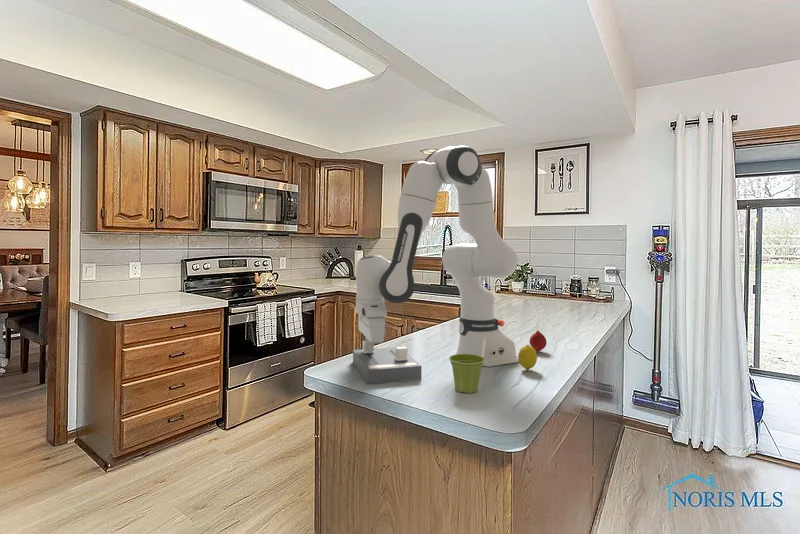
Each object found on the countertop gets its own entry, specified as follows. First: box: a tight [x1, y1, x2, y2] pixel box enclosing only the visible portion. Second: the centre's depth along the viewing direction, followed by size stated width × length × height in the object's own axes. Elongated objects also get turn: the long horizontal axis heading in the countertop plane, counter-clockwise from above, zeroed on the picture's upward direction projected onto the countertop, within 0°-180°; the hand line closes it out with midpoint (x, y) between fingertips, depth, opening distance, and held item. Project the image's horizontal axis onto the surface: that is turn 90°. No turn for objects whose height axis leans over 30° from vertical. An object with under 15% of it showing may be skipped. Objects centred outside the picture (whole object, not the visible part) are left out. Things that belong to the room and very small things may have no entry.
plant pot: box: [448, 354, 485, 394], centre depth 116 cm, size 9×9×9 cm
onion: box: [529, 329, 547, 353], centre depth 156 cm, size 6×6×8 cm
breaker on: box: [394, 346, 409, 361], centre depth 129 cm, size 4×3×4 cm
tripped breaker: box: [362, 339, 375, 354], centre depth 137 cm, size 4×3×4 cm
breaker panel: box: [352, 346, 422, 385], centre depth 132 cm, size 16×22×4 cm
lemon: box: [518, 344, 538, 371], centre depth 134 cm, size 6×6×8 cm
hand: (370, 350), depth 135 cm, fingers closed
